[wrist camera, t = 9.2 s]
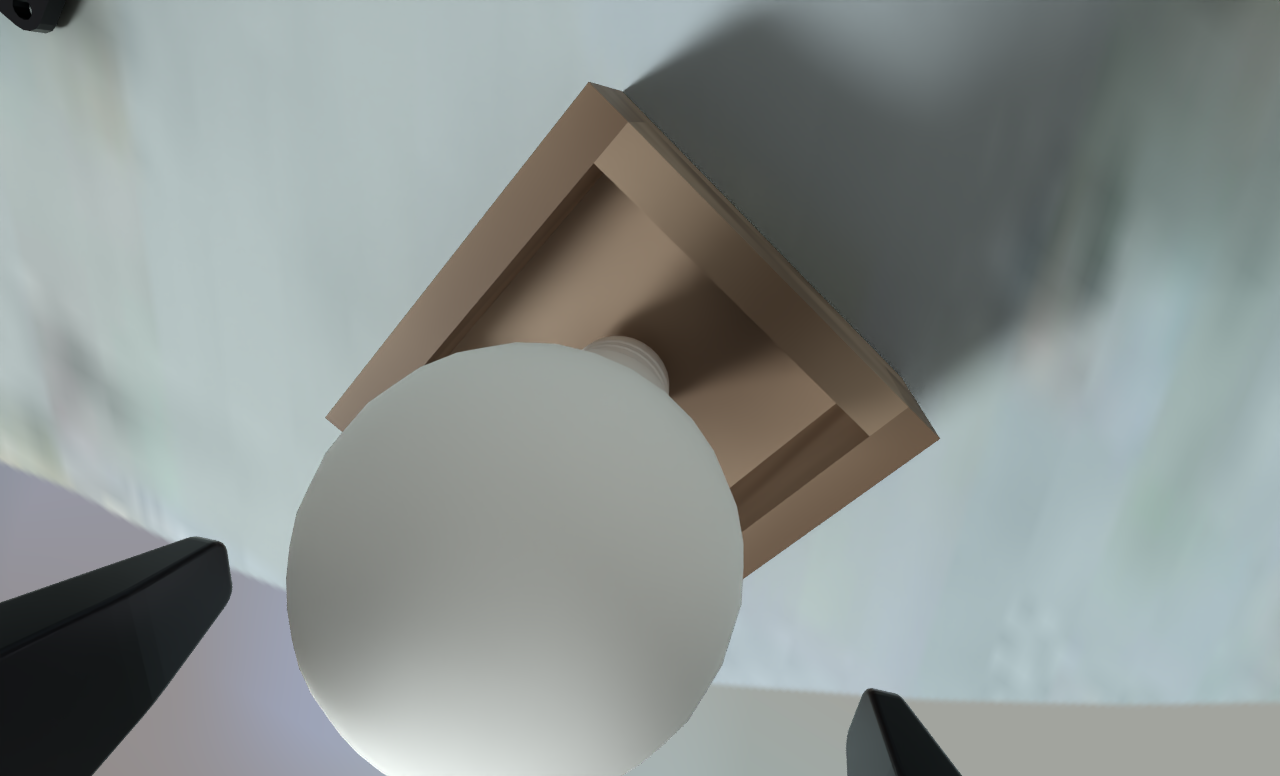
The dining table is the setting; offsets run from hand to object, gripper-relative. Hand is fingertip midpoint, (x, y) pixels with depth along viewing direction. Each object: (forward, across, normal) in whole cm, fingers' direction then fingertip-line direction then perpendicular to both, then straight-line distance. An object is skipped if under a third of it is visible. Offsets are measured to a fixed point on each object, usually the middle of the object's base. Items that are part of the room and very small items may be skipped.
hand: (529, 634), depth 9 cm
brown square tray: (+10, 0, 0) cm, 10 cm away
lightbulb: (+9, 0, 0) cm, 9 cm away
